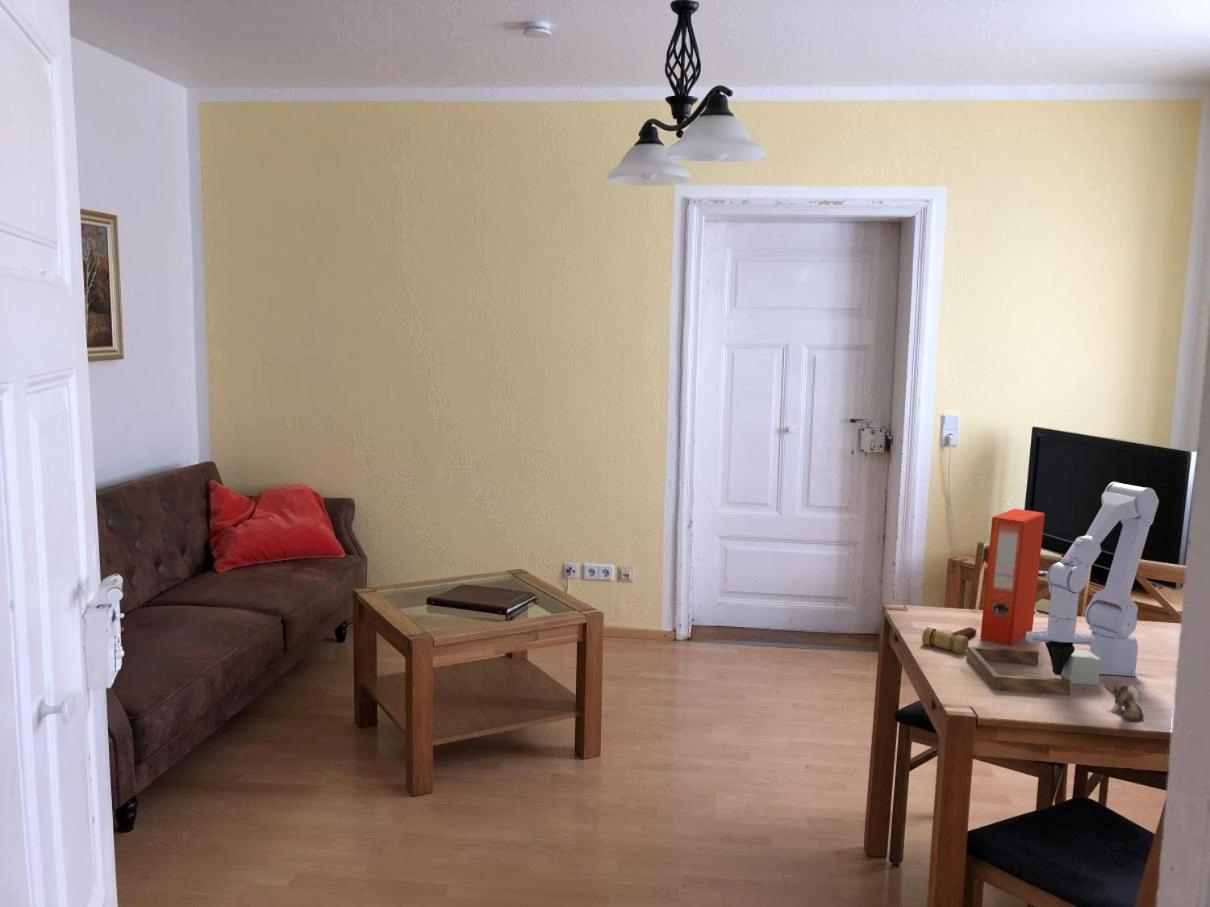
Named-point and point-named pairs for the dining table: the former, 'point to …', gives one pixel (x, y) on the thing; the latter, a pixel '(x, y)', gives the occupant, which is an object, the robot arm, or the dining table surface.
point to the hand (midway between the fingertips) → (1056, 673)
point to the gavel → (948, 639)
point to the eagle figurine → (1127, 702)
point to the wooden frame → (1014, 683)
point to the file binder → (1012, 576)
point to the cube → (1082, 668)
